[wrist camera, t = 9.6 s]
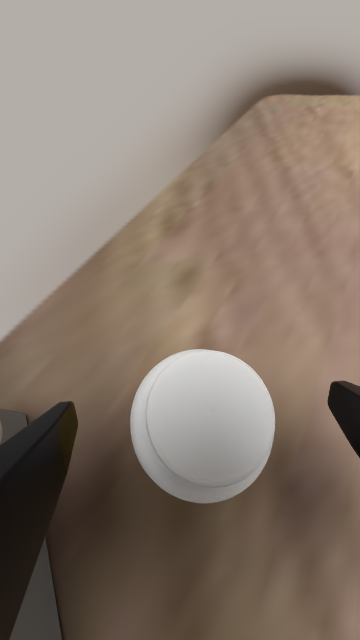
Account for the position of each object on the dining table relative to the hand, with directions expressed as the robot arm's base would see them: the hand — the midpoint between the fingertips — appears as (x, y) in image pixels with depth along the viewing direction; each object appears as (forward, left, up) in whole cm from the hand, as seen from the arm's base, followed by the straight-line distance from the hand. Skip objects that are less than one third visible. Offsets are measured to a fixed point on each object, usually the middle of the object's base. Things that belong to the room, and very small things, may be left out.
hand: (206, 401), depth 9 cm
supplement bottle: (0, 0, -9) cm, 9 cm away
